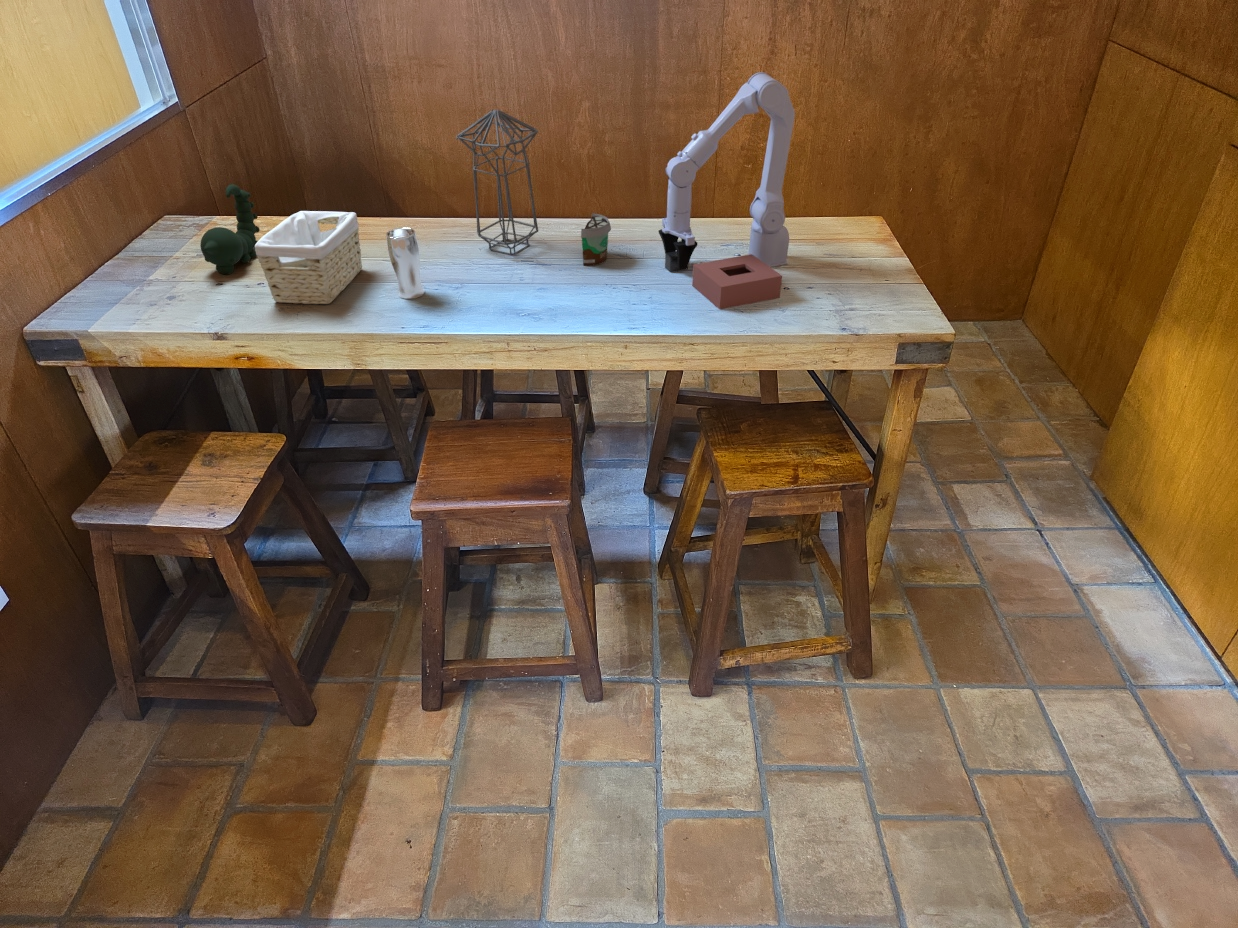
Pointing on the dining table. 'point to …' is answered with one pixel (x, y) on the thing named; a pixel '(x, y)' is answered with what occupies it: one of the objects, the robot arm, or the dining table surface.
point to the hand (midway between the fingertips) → (676, 263)
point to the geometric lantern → (487, 123)
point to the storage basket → (310, 256)
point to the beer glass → (405, 261)
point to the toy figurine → (232, 236)
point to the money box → (736, 281)
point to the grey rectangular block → (672, 262)
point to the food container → (595, 240)
